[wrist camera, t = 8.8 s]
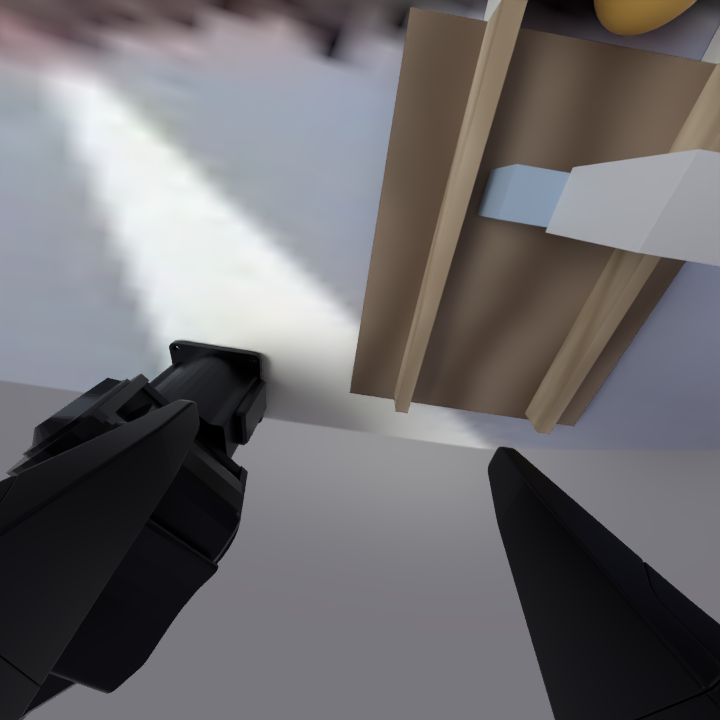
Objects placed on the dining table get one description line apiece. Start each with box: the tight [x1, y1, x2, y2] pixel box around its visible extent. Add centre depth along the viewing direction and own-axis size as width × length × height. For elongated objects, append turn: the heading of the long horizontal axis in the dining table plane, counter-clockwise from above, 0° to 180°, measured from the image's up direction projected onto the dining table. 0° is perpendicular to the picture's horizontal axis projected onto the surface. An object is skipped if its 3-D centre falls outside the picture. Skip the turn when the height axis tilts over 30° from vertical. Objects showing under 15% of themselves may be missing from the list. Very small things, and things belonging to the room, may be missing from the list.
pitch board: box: [350, 0, 720, 434], centre depth 16 cm, size 17×20×3 cm
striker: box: [477, 149, 720, 266], centre depth 11 cm, size 7×2×8 cm, turn 82°
